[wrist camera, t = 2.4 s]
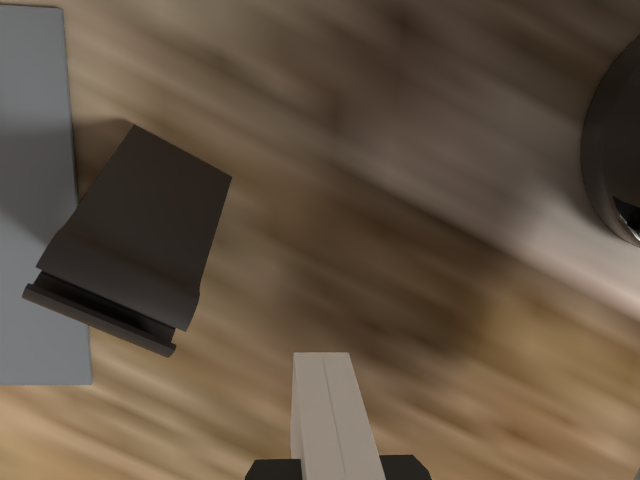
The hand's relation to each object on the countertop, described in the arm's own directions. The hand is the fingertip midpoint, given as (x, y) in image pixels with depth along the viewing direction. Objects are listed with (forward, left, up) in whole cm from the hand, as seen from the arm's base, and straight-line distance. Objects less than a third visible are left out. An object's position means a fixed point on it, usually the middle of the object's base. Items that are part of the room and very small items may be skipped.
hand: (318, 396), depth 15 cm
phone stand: (+8, 0, -19) cm, 21 cm away
